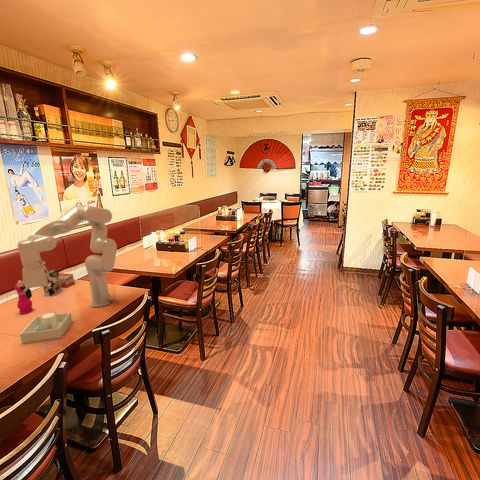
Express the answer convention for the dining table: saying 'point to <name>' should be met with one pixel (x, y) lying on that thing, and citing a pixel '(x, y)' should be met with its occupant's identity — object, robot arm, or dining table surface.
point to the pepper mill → (23, 301)
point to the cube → (44, 327)
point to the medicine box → (66, 280)
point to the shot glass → (49, 319)
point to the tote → (34, 336)
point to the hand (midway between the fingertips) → (41, 296)
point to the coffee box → (57, 286)
